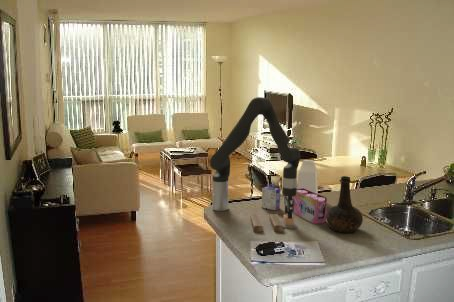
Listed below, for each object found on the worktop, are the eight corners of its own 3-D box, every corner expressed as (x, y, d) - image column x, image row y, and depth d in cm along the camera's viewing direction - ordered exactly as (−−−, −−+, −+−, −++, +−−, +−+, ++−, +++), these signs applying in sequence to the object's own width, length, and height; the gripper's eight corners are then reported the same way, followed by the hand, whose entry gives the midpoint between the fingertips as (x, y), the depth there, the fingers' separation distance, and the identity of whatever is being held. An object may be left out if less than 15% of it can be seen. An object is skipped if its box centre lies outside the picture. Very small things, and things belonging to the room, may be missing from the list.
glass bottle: (365, 227, 228) (368, 175, 223) (356, 238, 213) (359, 182, 208) (331, 221, 237) (334, 171, 232) (321, 232, 222) (323, 178, 217)
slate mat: (282, 228, 227) (282, 226, 227) (279, 222, 235) (279, 221, 235) (297, 227, 228) (297, 226, 228) (294, 222, 236) (294, 221, 236)
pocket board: (253, 231, 222) (253, 225, 221) (250, 220, 239) (250, 214, 239) (282, 231, 222) (283, 225, 222) (277, 219, 240) (277, 214, 240)
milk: (296, 202, 272) (297, 161, 267) (298, 197, 283) (300, 158, 278) (315, 204, 269) (317, 162, 264) (317, 199, 279) (319, 159, 275)
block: (285, 225, 229) (285, 217, 228) (283, 222, 234) (283, 214, 233) (293, 225, 229) (293, 217, 229) (291, 222, 234) (292, 214, 233)
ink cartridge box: (280, 208, 260) (281, 184, 258) (275, 210, 256) (276, 186, 253) (266, 205, 266) (266, 182, 263) (261, 207, 261) (261, 184, 259)
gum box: (328, 223, 235) (329, 198, 233) (316, 225, 232) (317, 200, 230) (303, 210, 257) (303, 187, 254) (291, 212, 254) (292, 189, 251)
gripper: (280, 182, 235) (279, 211, 237) (284, 189, 221) (283, 220, 223) (293, 182, 235) (292, 211, 238) (299, 189, 221) (298, 220, 224)
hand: (288, 215), depth 231 cm, fingers open, 8 cm apart
